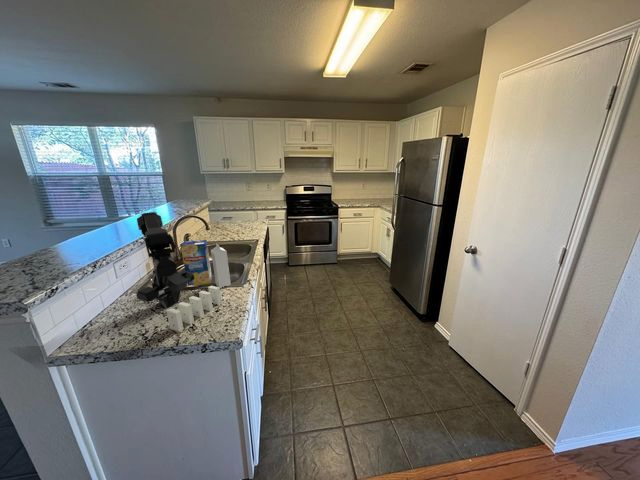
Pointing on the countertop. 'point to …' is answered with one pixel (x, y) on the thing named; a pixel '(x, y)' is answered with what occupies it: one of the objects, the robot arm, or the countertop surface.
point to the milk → (220, 266)
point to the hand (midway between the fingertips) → (171, 305)
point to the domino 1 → (175, 319)
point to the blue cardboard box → (197, 261)
